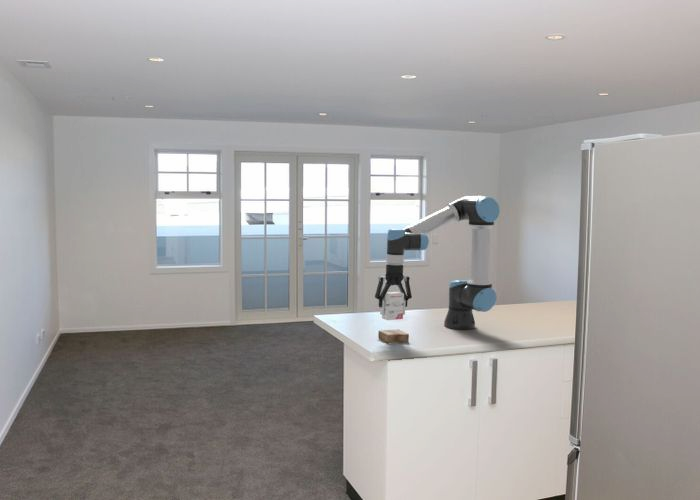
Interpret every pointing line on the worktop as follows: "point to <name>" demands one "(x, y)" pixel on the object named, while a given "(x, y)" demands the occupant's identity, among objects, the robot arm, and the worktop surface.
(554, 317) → the worktop surface
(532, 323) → the worktop surface
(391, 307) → the ink box
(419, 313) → the worktop surface
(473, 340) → the worktop surface
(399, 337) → the walnut block
